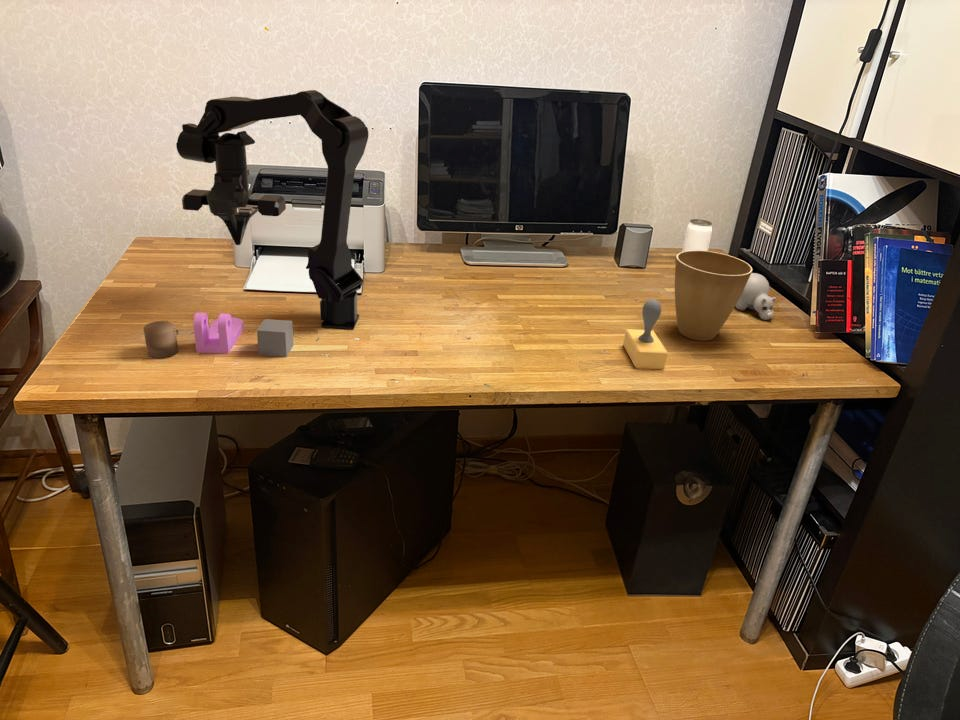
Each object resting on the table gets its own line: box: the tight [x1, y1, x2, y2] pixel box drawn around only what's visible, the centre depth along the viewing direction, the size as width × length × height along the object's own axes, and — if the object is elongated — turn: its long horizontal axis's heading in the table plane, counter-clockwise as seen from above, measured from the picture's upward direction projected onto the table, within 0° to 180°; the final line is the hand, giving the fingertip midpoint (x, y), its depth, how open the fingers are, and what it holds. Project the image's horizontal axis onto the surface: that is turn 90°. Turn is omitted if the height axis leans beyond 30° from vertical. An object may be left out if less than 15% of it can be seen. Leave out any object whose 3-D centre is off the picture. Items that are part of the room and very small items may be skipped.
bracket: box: [192, 312, 244, 355], centre depth 130 cm, size 13×6×7 cm, turn 3°
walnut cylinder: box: [143, 320, 179, 360], centre depth 124 cm, size 5×5×5 cm
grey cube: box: [256, 318, 294, 358], centre depth 128 cm, size 5×5×5 cm
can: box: [681, 218, 713, 252], centre depth 186 cm, size 6×6×12 cm
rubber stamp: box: [622, 298, 668, 370], centre depth 134 cm, size 10×6×12 cm, turn 3°
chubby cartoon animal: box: [735, 272, 777, 321], centre depth 160 cm, size 7×12×8 cm, turn 18°
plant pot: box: [674, 250, 753, 342], centre depth 145 cm, size 15×15×16 cm
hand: (238, 244), depth 143 cm, fingers closed
